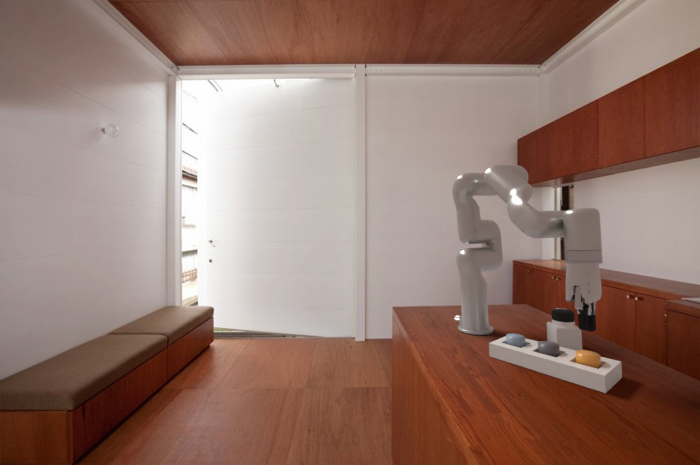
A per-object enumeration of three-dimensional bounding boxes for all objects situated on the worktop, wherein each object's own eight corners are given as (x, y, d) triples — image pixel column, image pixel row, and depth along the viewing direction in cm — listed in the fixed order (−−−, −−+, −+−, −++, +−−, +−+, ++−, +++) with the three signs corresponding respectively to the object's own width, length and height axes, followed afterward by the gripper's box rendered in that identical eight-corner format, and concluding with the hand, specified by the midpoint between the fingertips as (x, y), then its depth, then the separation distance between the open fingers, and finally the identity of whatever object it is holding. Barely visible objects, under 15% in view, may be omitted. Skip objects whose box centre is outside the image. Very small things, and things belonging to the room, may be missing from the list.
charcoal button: (535, 356, 85) (534, 343, 85) (543, 351, 88) (542, 339, 88) (555, 362, 81) (554, 348, 81) (563, 357, 84) (562, 344, 84)
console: (489, 356, 92) (488, 343, 93) (510, 346, 99) (509, 334, 99) (605, 393, 69) (604, 375, 69) (622, 377, 76) (621, 361, 76)
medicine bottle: (583, 351, 93) (581, 312, 93) (557, 351, 94) (555, 312, 94) (571, 343, 100) (569, 306, 100) (547, 342, 101) (545, 306, 101)
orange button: (572, 367, 78) (572, 353, 78) (580, 361, 80) (579, 348, 81) (597, 373, 74) (596, 359, 74) (604, 368, 76) (603, 354, 76)
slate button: (503, 347, 92) (502, 335, 92) (511, 343, 95) (511, 332, 95) (520, 352, 88) (519, 340, 88) (528, 348, 91) (528, 336, 91)
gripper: (577, 254, 85) (581, 321, 84) (553, 258, 76) (557, 332, 76) (611, 255, 78) (616, 327, 78) (590, 259, 70) (594, 340, 70)
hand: (587, 329), depth 77 cm, fingers closed
